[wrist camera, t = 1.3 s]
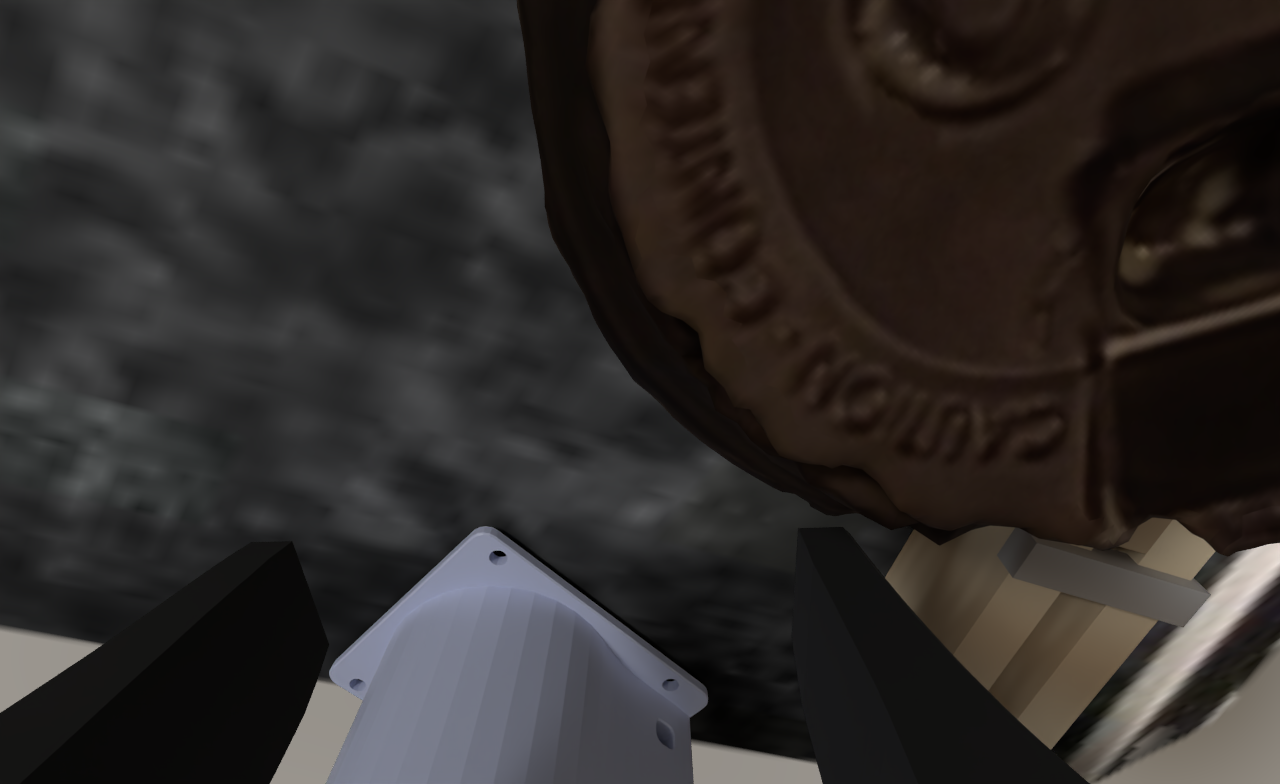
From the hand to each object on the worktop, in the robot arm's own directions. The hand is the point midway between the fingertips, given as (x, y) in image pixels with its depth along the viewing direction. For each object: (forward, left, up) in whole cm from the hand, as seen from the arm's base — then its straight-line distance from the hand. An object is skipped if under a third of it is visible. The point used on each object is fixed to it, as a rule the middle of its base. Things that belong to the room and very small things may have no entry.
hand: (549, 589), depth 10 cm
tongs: (-12, -3, -9) cm, 15 cm away
